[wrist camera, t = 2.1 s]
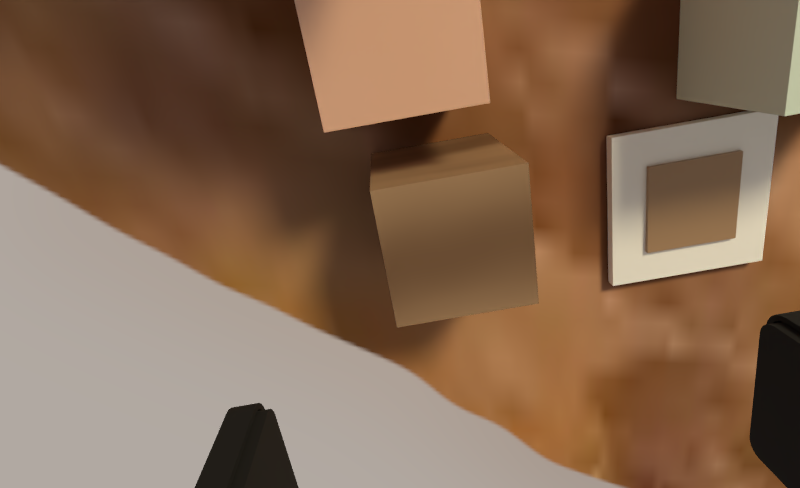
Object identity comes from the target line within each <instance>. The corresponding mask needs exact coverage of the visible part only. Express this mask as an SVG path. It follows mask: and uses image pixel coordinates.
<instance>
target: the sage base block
mask: <svg viewBox="0 0 800 488" xmlns="http://www.w3.org/2000/svg"><path fill="white" fill-rule="evenodd" d="M676 99H679V100H686V101H692V102H698V103H705V104H711V105H717V106H723V107H730V108H736V109H742V110H748V111H755V112H761V113H767V114H774V115H780V116H789V115H795V114H800V0H681V1H680V25H679V48H678V72H677V96H676Z"/></svg>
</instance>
